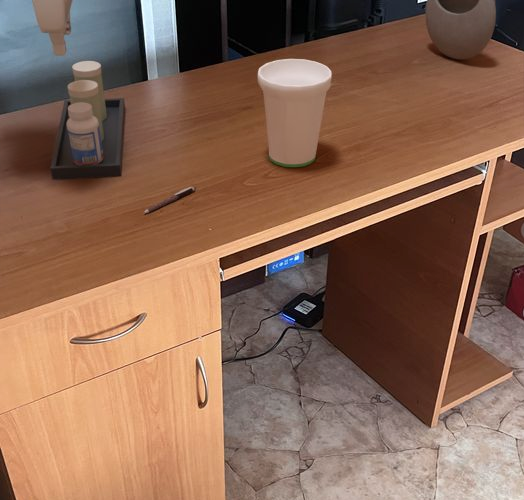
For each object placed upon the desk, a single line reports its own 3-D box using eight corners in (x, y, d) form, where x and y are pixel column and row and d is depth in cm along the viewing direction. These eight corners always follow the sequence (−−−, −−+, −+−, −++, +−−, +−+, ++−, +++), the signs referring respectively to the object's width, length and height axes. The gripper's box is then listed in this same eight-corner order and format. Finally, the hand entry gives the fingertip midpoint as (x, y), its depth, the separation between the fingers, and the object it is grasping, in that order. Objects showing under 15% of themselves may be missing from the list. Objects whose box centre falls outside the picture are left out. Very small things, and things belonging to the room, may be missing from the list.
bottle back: (79, 123, 149) (71, 71, 143) (81, 112, 153) (73, 61, 147) (106, 122, 150) (100, 70, 143) (107, 111, 154) (101, 60, 147)
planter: (411, 50, 182) (422, -38, 170) (431, 43, 185) (444, -43, 173) (474, 73, 171) (491, -19, 159) (495, 65, 175) (513, -25, 162)
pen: (194, 189, 131) (193, 183, 131) (197, 190, 131) (197, 185, 130) (141, 214, 125) (141, 208, 124) (144, 216, 125) (144, 210, 124)
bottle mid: (75, 145, 142) (66, 91, 136) (77, 133, 146) (68, 80, 140) (104, 144, 143) (96, 90, 136) (105, 132, 146) (98, 79, 140)
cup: (254, 142, 145) (254, 59, 135) (321, 140, 146) (325, 57, 136) (260, 174, 135) (261, 87, 125) (332, 171, 136) (338, 85, 126)
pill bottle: (84, 150, 141) (76, 97, 134) (109, 157, 139) (102, 103, 132) (66, 163, 137) (57, 109, 131) (91, 170, 135) (83, 115, 129)
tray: (52, 179, 134) (50, 168, 132) (66, 110, 155) (64, 100, 154) (121, 176, 135) (119, 165, 133) (125, 108, 156) (124, 97, 155)
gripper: (36, -69, 124) (49, 22, 133) (19, -33, 108) (35, 67, 117) (76, -69, 124) (87, 21, 133) (65, -34, 109) (78, 66, 118)
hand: (63, 43), depth 125 cm, fingers open, 8 cm apart
